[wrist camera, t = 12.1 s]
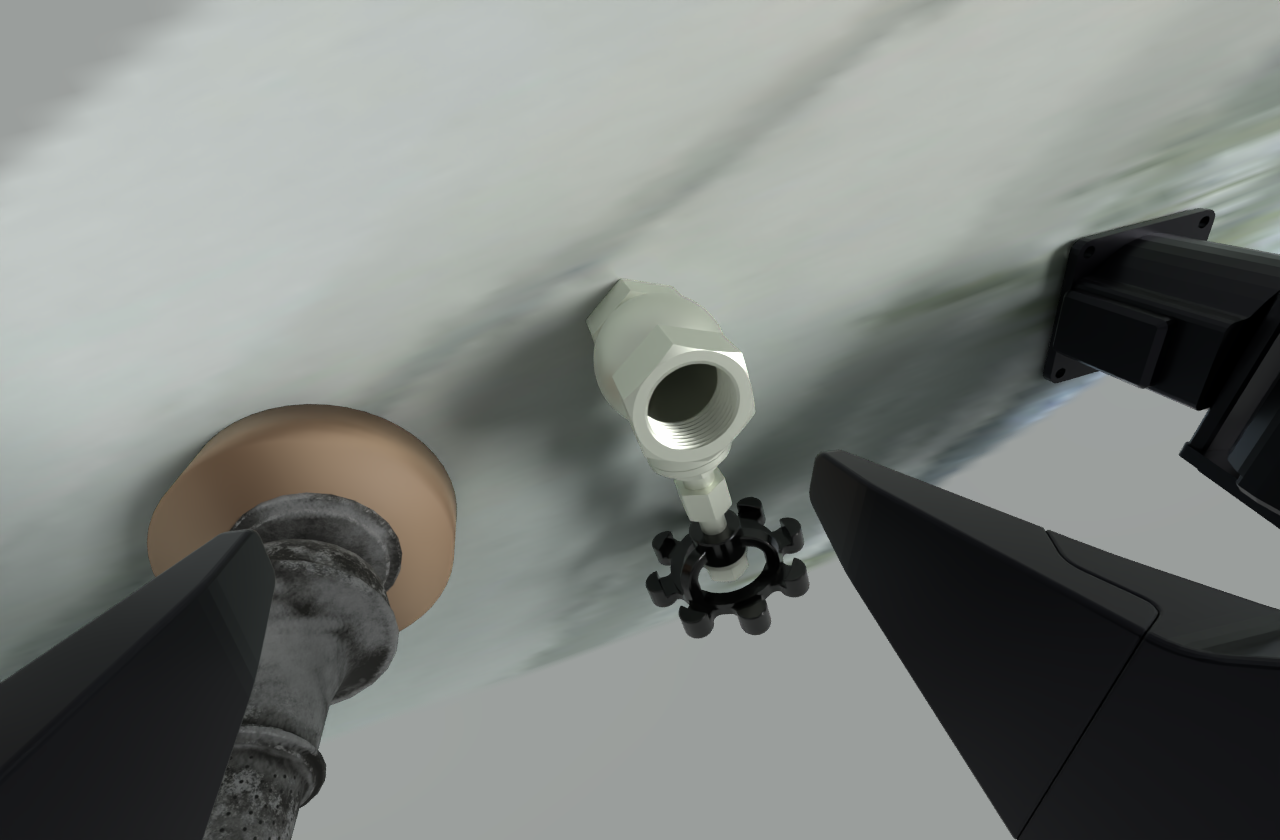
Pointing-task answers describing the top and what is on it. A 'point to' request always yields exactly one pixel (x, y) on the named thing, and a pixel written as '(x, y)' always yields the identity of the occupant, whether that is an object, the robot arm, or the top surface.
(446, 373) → the top surface
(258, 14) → the top surface
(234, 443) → the tan round disc
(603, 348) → the valve
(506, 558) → the top surface
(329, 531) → the salt shaker
